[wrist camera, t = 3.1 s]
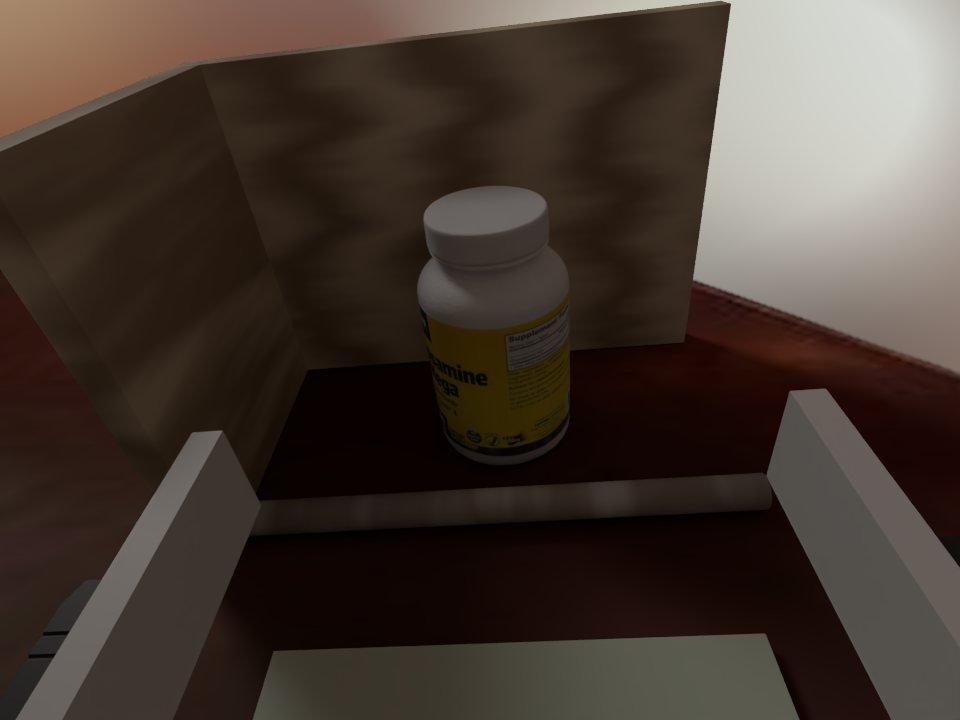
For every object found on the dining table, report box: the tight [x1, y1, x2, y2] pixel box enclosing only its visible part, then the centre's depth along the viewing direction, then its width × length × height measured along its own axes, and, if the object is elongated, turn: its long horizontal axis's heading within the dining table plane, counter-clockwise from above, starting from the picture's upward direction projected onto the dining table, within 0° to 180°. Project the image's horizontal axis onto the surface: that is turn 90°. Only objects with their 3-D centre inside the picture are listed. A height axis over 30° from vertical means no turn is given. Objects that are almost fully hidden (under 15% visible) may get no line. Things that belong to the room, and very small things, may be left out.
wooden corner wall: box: [0, 1, 772, 536], centre depth 23 cm, size 23×14×16 cm, turn 89°
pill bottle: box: [417, 186, 570, 465], centre depth 24 cm, size 6×6×11 cm
